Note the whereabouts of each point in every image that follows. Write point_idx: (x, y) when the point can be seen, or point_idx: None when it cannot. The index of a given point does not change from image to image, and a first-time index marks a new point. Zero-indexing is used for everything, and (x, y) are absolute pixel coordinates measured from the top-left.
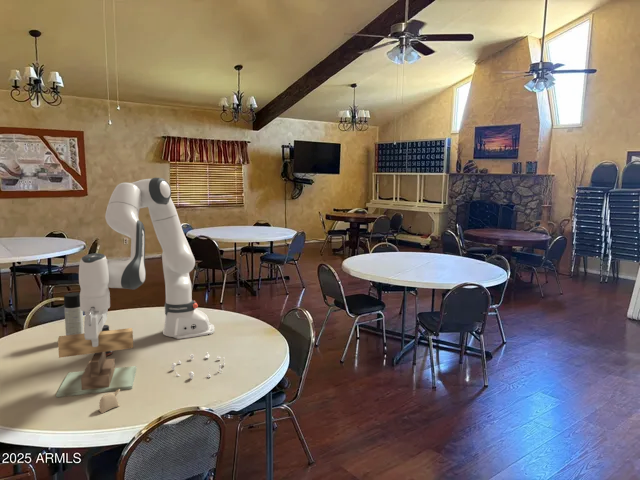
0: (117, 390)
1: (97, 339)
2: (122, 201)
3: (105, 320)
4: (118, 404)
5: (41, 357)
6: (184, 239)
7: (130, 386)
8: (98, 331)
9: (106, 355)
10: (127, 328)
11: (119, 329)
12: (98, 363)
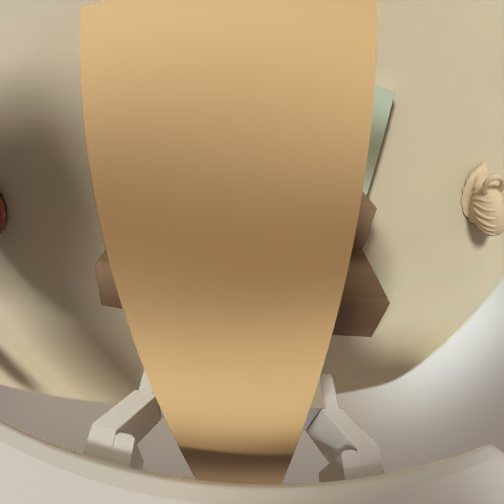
0: (490, 181)
1: (360, 429)
2: None
3: (1, 448)
4: (487, 169)
5: (26, 351)
6: None
7: (391, 98)
8: (473, 493)
9: (1, 199)
10: (84, 112)
11: (121, 280)
12: (385, 295)
